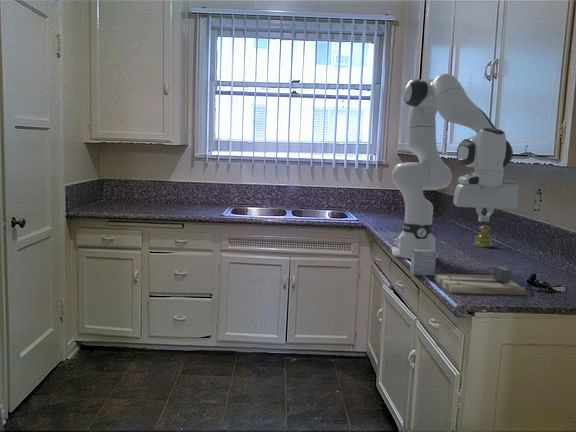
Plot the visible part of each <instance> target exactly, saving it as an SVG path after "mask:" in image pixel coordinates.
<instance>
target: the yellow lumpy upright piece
mask: <svg viewBox="0 0 576 432" xmlns="http://www.w3.org/2000/svg"><path fill="white" fill-rule="evenodd" d="M478 228H479V230H480V233H478V235H475V241H474V245H475V247H479V248H491V247H492V240H493V237H491V235H490V234H489V233H488V231H489V230H491V227H489V226H487V224H486V225H485V224H484V225H481V226H479V227H478Z"/></svg>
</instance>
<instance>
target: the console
mask: <svg viewBox="0 0 576 432" xmlns="http://www.w3.org/2000/svg"><path fill="white" fill-rule="evenodd" d="M433 281H436V282H437V284H439V285H440V286H442V287H443V288H444V289H445V290H446V291H447V292H449V293H451V294H477V295H479V294H480V295H484V294H485V295H510V296H511V295H512V296H513V295H518V296H525V295H526V288H525V287H523V286H521V285H520V284H518V283H516V282H514V281H512V280H511V279H510V282H500V281H498V280H496V279H495V278H494V275H488V274H487V275H486V274H482V275H481V274H456V273H455V274H454V273H450V274H449V273H435V274H434V276H433Z"/></svg>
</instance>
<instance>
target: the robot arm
mask: <svg viewBox="0 0 576 432" xmlns="http://www.w3.org/2000/svg"><path fill="white" fill-rule="evenodd" d="M403 100H404V102H405V104H406V105H407V106H410V108H409V112H408V118H407V119H408V121H407V147H408V150H409V151H410V152H411V153H413V154H414V155H415V156H416V157H417V159H418V162H414V161H413V162H411V161H409V162H408V161H407V162H402V163H397V164H396V165H395V166H394V167H393V169H392V172H391V181H392V183H393V185H394V186H395V187H396V188H397V189H398V190H399V192H400V193H401V195H402V197H403V201H404V221H403V223H402V231H401V232H400V234H399V235H398V237H397V238H394V239H393V240H394V242H393V244H394V245H396V246H391V252H392V253H391V254H392V256H393V257H398V258H403V259H408V260H411V253H412V249H420V250H433V251H435V252H436V237H435V236H434V235H433V230H434V224H433V214H434V205H433V204H432V203H433V202H431V201H430V200H428V199H427V198H426V197H425V195H424V190H426V191H427V190H429V191H430V190H431V191H433V190H434V191H435V190H436V191H437V190H441V189H445V188H447V187H448V186H449V185H450V184H451V182H452V179H453V173H452V170H451V168H450V167H449V166H448V165H447V164H446V163H445V162H444V161H443V159H442V158H441V156H440V153H439V151H438V146H437V133H436V132H437V123H436V115H437V113H438V114H439V115H440V117H441V118H442V119H444V120H445V121H446V122H449V123H452V124H455V125H460V126H462V127H466V128H468V129H471V130H473V131H474V132H476V134H475V135H473V136H471V137H469V138H464V139H463V140H461V142H460V143H459V144H458V146H457V149H456V158H457V161H458V162H459V164H460V165H461V166H462V167H463V166H464V167H467V168H474V171H473V172H471V173H468V174H465V175H460V176H459V177H458V178H457V181H458V184H457V185H456V187H455V188H454V190H455V191H454V194H453V200H452V203H453V205H454V206H455V207H458V208H473V209H474V208H475V212H476V214H477V216H478V218H477V220H478V222H480V223H481V222H482V223H489V222H490V217H491V216H492V214H493V213H494V212H495V211H494V210H495V209H500V210H501V209H502V210H505V209H506V210H515V209H517V208H518V206H519V193H518V192H519V189H520V185H519V183H518V182H517V181H516V180H514V179H510V180H507V179H504V168H505V167H507V166H508V165H509V164H510V163H511V161H512V160H513V156H514V151H513V147H512V145H511V143H510V142H509V141H508V139H507V136H506V132H504V130H501V129H498V128H496V127H495V125H494V123H493V122H492V121H491V120H490V118H489V117H488V116H487V114H486V113H485V112H484V111H483V110H482V109H481V108H480V107H479V106H478V105H476V104H475V103H474V102H473V101H472V100H471V98H469V96H468V95H467V93H466V91H465V89H464V88H463V86H462V84H461V83H460V81H459V80H458V78H456V76H454V75H453V74H452V73H451V74H450V73H442V74H439V75H438V76H437V77H435V78H429V79H428V78H427V79H426V78H425V79H420V78H415V79H410V80H409V81H407V83H406V84H405V86H404V88H403ZM484 209H486V211H487V212H486V214H485V215H483V214H482V212H483V211H484ZM438 258H439V254H437V255H436V259H438Z"/></svg>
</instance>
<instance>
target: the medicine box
mask: <svg viewBox="0 0 576 432" xmlns="http://www.w3.org/2000/svg"><path fill="white" fill-rule="evenodd" d="M436 255H438V253H437V252H436V250H435V251H433V250H420V249H412V253H411V259H410V268H409V272H410V273H411V275H412V276H430V277H431V276H433V277H434V274H436V263H437V258H436Z"/></svg>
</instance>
